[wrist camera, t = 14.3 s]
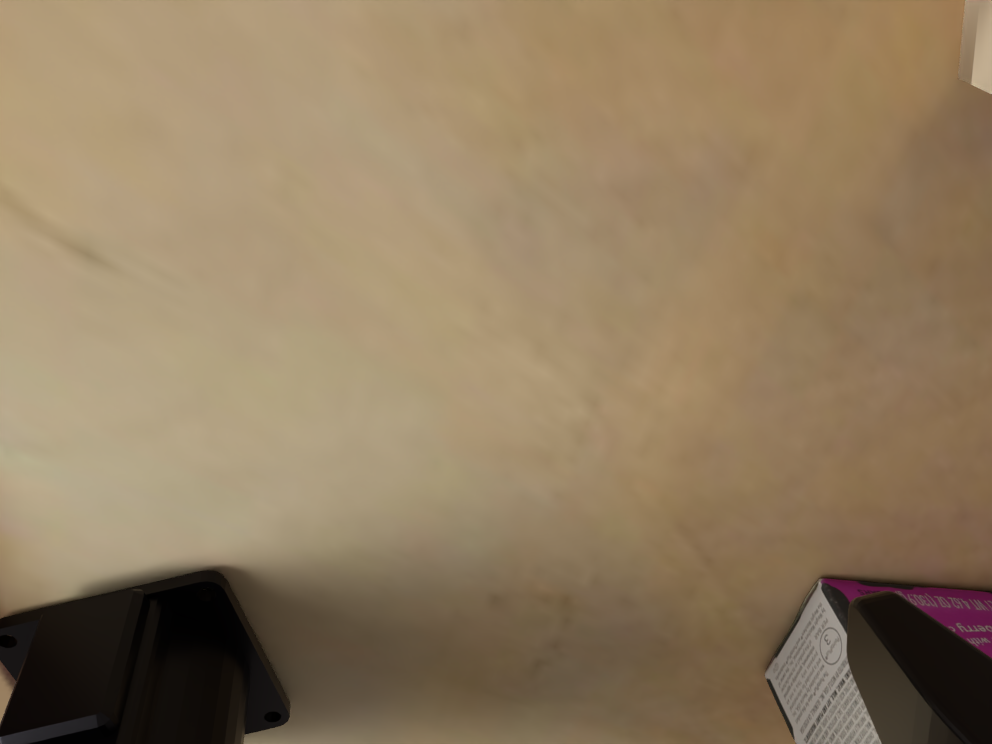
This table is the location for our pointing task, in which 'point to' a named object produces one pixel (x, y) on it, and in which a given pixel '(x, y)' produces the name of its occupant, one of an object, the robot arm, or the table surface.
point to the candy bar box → (823, 658)
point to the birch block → (977, 45)
